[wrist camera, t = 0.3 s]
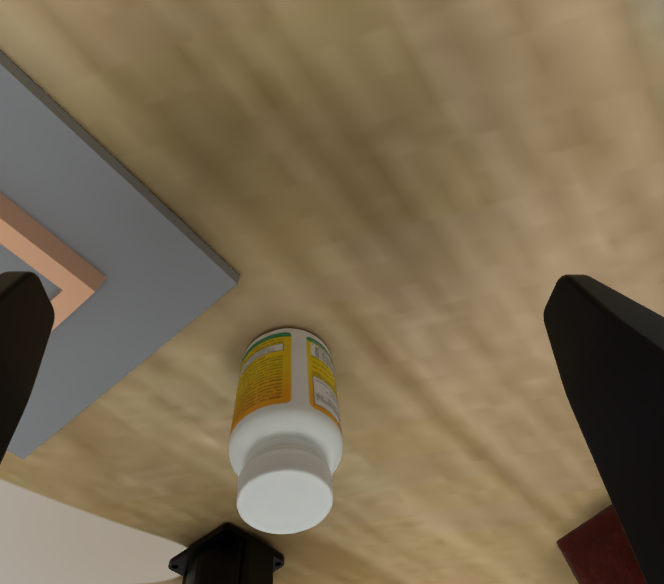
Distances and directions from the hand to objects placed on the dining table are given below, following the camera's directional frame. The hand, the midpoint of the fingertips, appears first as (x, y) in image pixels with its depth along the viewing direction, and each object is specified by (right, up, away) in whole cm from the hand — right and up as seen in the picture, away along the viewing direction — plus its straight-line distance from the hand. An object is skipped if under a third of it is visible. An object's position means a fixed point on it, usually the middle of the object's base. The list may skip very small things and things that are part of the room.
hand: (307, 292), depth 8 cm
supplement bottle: (-2, -4, +19) cm, 20 cm away
